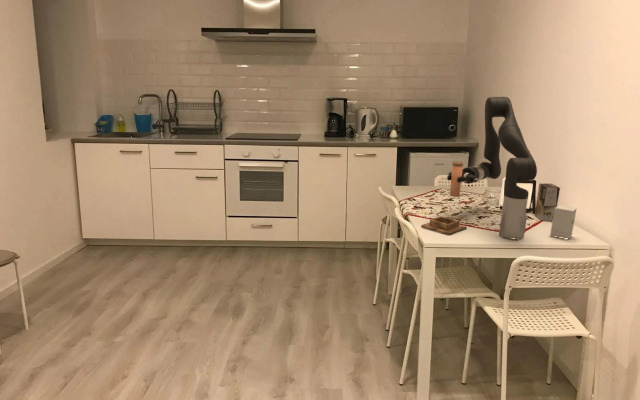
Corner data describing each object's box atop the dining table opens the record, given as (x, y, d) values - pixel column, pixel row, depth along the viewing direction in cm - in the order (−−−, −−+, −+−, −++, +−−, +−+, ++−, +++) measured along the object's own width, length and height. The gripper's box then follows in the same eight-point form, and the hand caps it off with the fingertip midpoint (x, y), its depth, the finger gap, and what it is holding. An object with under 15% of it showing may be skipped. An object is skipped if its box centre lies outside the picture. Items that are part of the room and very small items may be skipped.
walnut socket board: (466, 229, 225) (467, 221, 224) (449, 235, 216) (450, 227, 215) (438, 221, 235) (439, 214, 234) (421, 227, 225) (421, 219, 224)
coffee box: (555, 221, 242) (560, 187, 238) (541, 220, 243) (546, 187, 238) (547, 215, 251) (552, 183, 247) (534, 215, 251) (539, 182, 247)
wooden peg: (461, 195, 234) (465, 162, 230) (456, 197, 231) (459, 163, 227) (452, 193, 237) (456, 161, 233) (447, 195, 234) (450, 162, 230)
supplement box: (568, 240, 216) (573, 211, 213) (549, 236, 220) (554, 207, 217) (572, 236, 222) (577, 207, 218) (553, 232, 226) (558, 204, 223)
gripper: (459, 164, 245) (439, 168, 234) (487, 169, 236) (468, 173, 224) (458, 179, 247) (438, 184, 236) (485, 185, 238) (466, 190, 226)
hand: (453, 179), depth 230 cm, fingers closed on wooden peg, 4 cm apart
